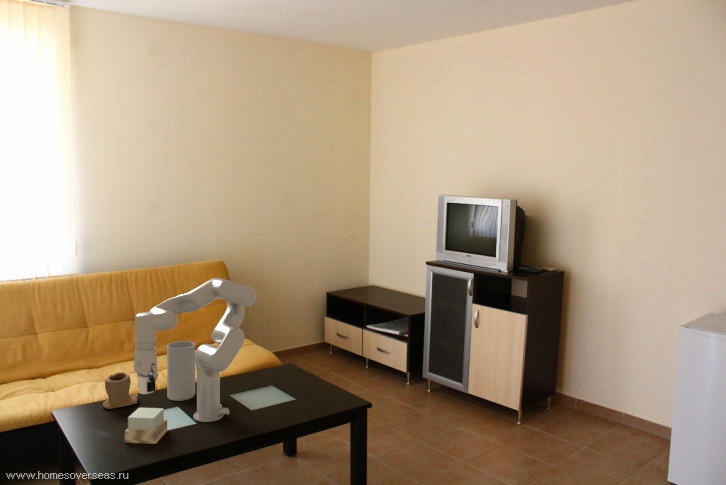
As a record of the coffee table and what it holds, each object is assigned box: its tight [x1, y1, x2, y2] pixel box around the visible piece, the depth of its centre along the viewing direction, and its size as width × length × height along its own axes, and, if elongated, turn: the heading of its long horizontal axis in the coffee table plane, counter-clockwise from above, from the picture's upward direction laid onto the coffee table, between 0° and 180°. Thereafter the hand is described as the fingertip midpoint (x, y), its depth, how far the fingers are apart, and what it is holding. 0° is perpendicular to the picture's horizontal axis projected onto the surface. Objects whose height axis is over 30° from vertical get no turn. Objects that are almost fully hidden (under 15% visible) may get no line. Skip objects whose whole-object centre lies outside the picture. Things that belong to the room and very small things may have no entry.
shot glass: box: [136, 372, 155, 395], centre depth 223 cm, size 7×7×7 cm
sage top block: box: [127, 407, 165, 431], centre depth 224 cm, size 10×10×5 cm
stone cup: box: [102, 371, 139, 410], centre depth 255 cm, size 15×12×15 cm
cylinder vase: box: [166, 340, 196, 402], centre depth 267 cm, size 12×12×25 cm
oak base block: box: [124, 419, 168, 445], centre depth 225 cm, size 12×12×5 cm
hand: (146, 388), depth 224 cm, fingers closed on shot glass, 6 cm apart
